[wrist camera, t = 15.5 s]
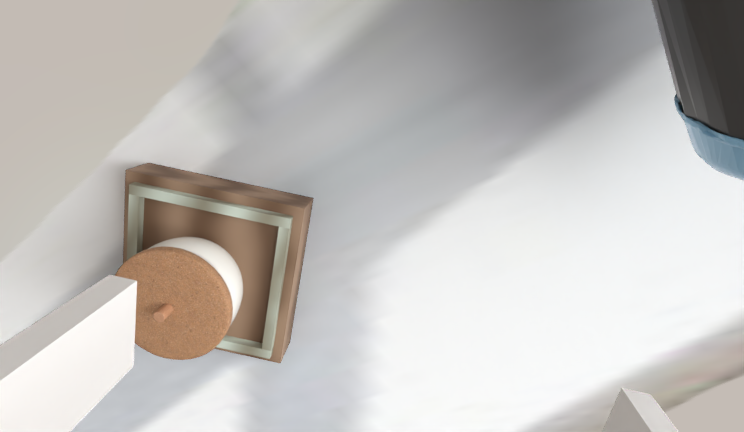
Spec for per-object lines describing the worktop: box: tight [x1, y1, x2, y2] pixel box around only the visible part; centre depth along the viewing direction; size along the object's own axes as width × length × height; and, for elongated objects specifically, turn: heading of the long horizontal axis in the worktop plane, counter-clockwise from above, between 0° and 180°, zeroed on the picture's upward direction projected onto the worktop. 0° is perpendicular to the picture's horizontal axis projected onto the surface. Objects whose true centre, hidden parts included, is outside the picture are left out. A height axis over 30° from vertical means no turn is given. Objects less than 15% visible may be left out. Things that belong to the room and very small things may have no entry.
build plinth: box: [123, 163, 313, 363], centre depth 48 cm, size 18×18×5 cm
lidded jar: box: [115, 237, 243, 360], centre depth 42 cm, size 11×11×9 cm
